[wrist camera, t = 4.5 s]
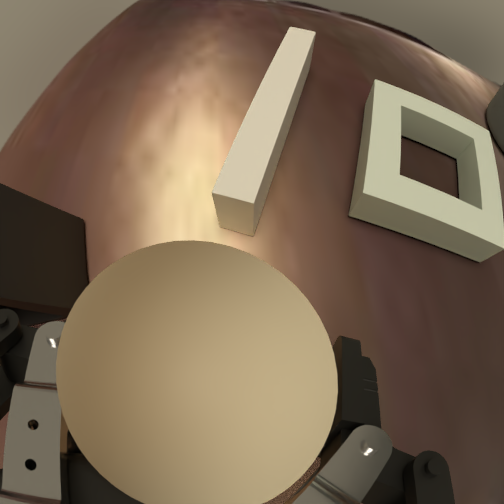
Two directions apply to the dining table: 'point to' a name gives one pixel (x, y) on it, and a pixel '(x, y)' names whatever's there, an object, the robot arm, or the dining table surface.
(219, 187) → the backstop wall
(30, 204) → the phone stand
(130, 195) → the dining table surface
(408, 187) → the pale green square frame
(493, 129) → the water bottle
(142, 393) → the dowel
